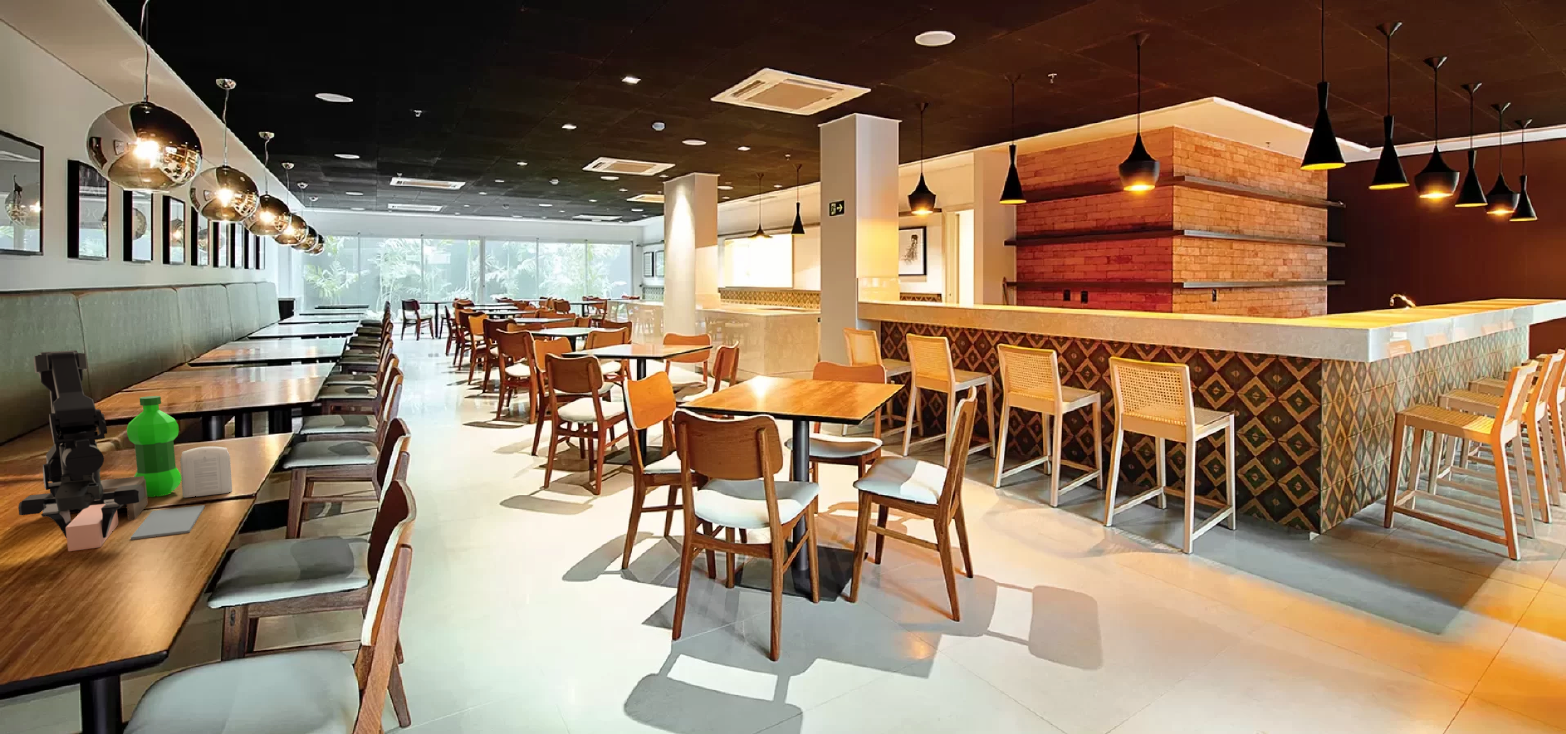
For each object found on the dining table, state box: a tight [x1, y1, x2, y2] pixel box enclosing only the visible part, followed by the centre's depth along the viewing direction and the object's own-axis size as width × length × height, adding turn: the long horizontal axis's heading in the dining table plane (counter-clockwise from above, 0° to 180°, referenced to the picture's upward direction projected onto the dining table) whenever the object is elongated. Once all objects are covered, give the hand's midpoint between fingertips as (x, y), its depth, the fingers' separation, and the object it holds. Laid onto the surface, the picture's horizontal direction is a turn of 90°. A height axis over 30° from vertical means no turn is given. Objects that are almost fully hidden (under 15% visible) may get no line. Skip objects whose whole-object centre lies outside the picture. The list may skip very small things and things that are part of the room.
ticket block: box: [66, 504, 119, 552], centre depth 166 cm, size 5×17×5 cm, turn 31°
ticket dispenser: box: [82, 476, 149, 521], centre depth 181 cm, size 9×14×7 cm, turn 29°
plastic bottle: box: [126, 395, 182, 498], centre depth 197 cm, size 10×10×25 cm
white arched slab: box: [179, 445, 233, 499], centre depth 198 cm, size 10×4×12 cm, turn 123°
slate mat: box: [130, 504, 206, 540], centre depth 176 cm, size 10×21×1 cm, turn 29°
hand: (88, 539), depth 162 cm, fingers closed on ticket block, 5 cm apart
